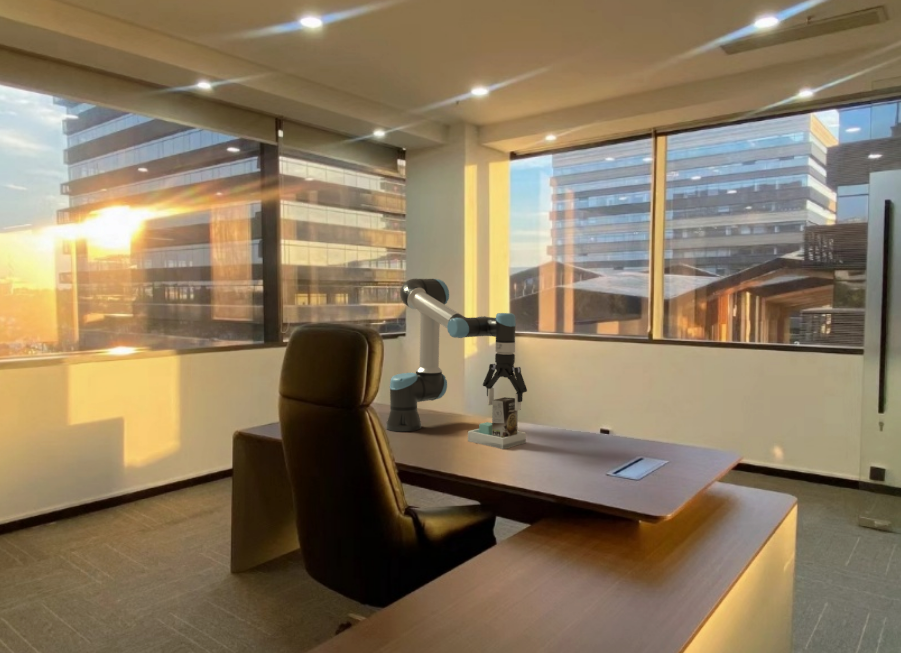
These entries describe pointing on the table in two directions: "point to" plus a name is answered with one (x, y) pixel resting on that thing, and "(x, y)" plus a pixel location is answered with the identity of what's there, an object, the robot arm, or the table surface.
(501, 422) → the coffee box
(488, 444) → the tote
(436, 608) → the table surface
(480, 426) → the teal cube
